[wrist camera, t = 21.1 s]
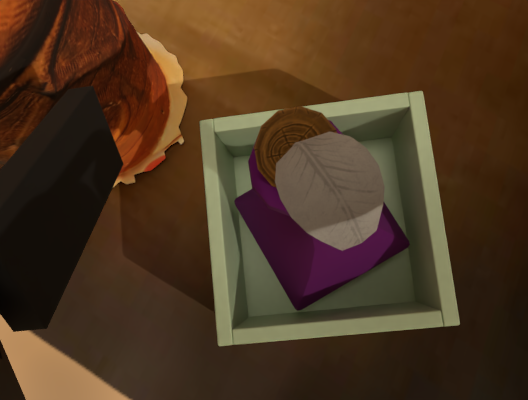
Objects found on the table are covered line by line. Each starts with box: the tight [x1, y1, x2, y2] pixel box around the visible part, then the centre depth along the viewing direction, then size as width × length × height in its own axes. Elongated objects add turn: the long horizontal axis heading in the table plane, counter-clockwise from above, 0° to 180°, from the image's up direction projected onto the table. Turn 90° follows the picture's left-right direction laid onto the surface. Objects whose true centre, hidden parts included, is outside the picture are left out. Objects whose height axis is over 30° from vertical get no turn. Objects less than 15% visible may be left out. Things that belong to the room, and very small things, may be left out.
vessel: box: [0, 0, 187, 187], centre depth 24 cm, size 14×14×20 cm
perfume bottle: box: [234, 106, 410, 311], centre depth 21 cm, size 8×8×18 cm
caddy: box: [199, 91, 460, 346], centre depth 28 cm, size 12×12×7 cm
